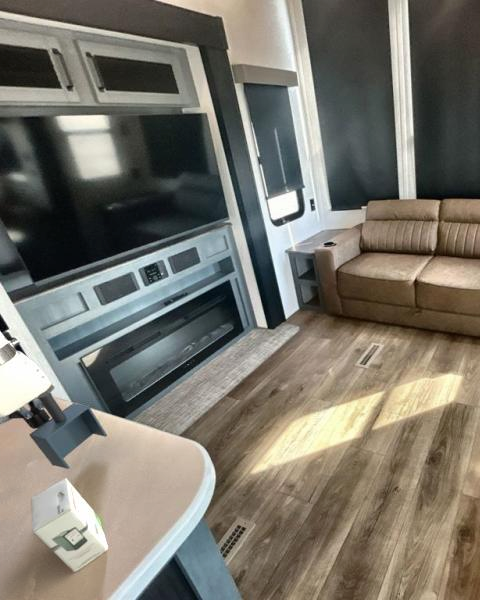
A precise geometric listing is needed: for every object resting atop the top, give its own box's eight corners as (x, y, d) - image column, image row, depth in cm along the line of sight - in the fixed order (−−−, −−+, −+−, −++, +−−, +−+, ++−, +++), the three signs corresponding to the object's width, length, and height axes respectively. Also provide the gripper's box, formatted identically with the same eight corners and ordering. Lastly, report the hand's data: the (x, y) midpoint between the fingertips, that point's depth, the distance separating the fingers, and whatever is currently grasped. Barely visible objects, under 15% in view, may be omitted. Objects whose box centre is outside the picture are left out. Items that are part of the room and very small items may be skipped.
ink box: (67, 538, 64) (28, 496, 59) (101, 516, 67) (66, 475, 62) (73, 574, 59) (30, 532, 53) (109, 549, 61) (72, 507, 56)
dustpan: (9, 409, 68) (25, 412, 67) (57, 378, 76) (73, 381, 75) (52, 465, 76) (68, 469, 75) (93, 432, 84) (107, 436, 83)
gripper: (18, 336, 77) (66, 399, 86) (-76, 383, 65) (-9, 452, 74) (43, 337, 75) (89, 402, 84) (-50, 387, 63) (16, 457, 72)
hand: (43, 425), depth 79 cm, fingers closed
